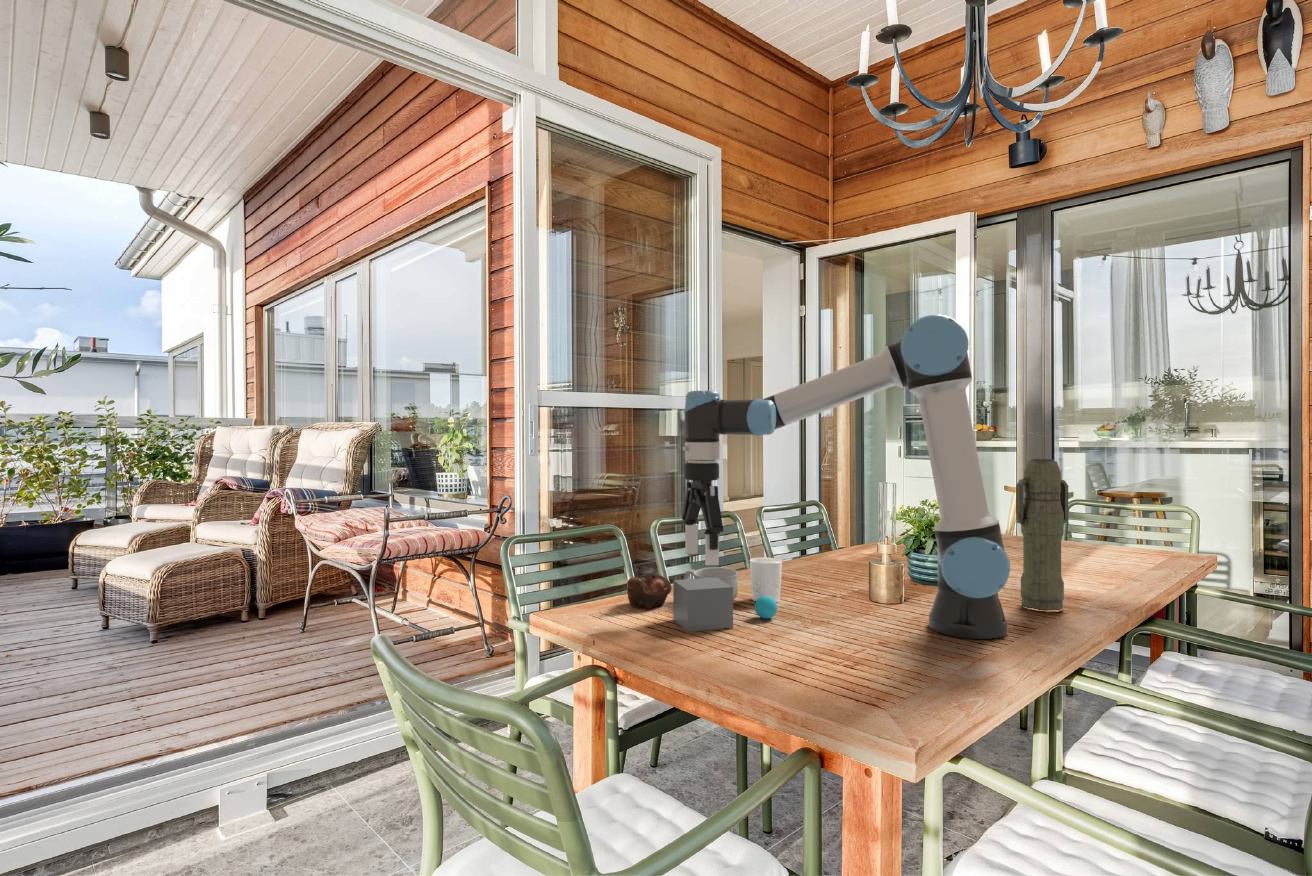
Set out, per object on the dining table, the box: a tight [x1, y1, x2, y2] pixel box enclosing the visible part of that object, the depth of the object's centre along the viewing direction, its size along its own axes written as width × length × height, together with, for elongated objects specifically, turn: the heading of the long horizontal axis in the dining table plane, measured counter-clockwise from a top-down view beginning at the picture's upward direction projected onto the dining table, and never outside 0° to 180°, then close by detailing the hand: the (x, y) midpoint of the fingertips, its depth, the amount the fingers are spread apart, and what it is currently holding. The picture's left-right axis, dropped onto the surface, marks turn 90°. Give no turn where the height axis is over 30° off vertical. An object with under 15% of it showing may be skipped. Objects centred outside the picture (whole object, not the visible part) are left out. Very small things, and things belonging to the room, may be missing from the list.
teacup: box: [683, 566, 739, 601], centre depth 173 cm, size 14×11×8 cm
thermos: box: [1015, 458, 1069, 610], centre depth 167 cm, size 9×12×35 cm
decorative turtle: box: [626, 572, 673, 610], centre depth 171 cm, size 10×15×8 cm, turn 147°
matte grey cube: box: [672, 577, 734, 633], centre depth 155 cm, size 10×10×9 cm
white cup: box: [749, 556, 783, 603], centre depth 176 cm, size 8×8×10 cm
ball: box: [754, 596, 778, 620], centre depth 159 cm, size 5×5×5 cm
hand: (701, 559), depth 155 cm, fingers open, 13 cm apart
